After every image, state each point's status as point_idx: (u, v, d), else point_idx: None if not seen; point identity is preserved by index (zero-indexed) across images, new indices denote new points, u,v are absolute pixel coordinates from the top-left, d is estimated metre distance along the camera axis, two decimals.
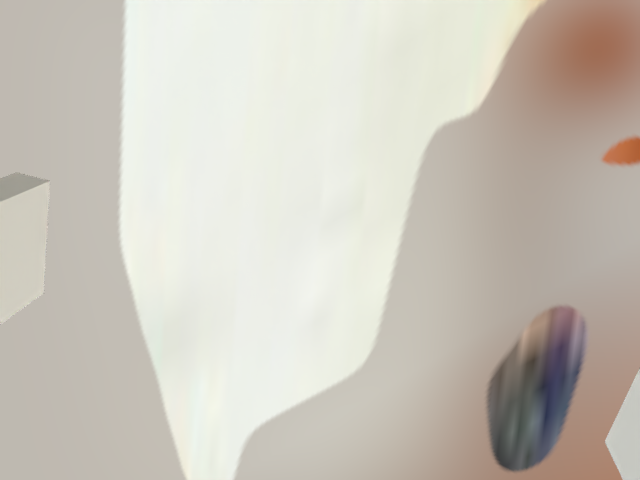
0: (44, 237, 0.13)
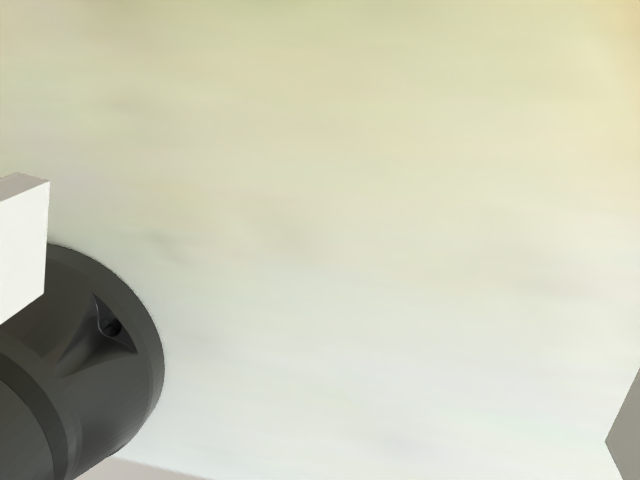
0: (45, 237, 0.13)
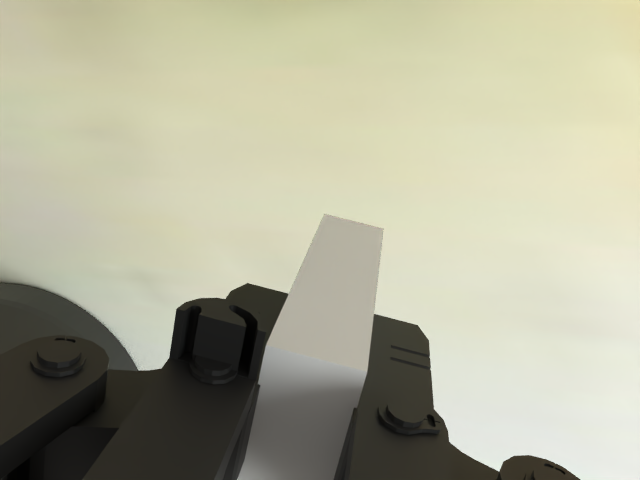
0: None
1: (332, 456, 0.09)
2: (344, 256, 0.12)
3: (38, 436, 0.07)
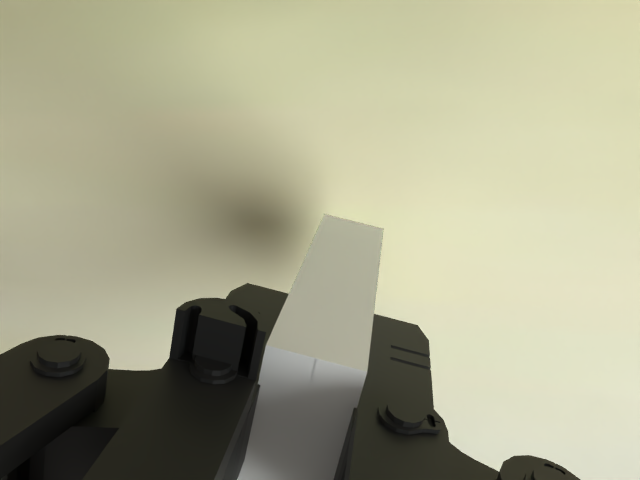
0: None
1: (332, 456, 0.09)
2: (344, 256, 0.12)
3: (38, 436, 0.07)
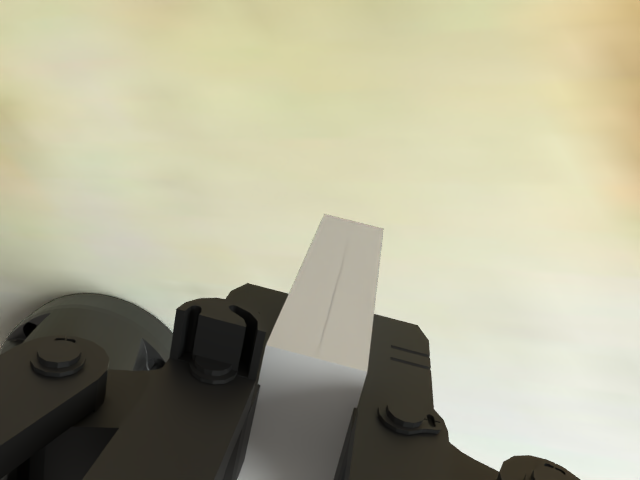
0: None
1: (332, 456, 0.09)
2: (344, 256, 0.12)
3: (38, 436, 0.07)
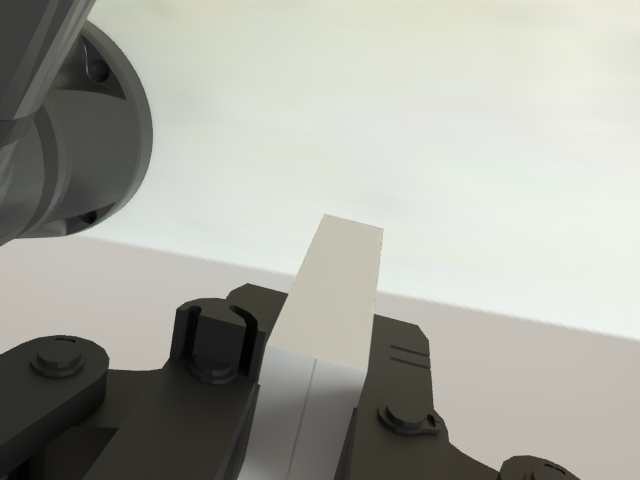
0: None
1: (332, 456, 0.09)
2: (344, 256, 0.12)
3: (38, 436, 0.07)
